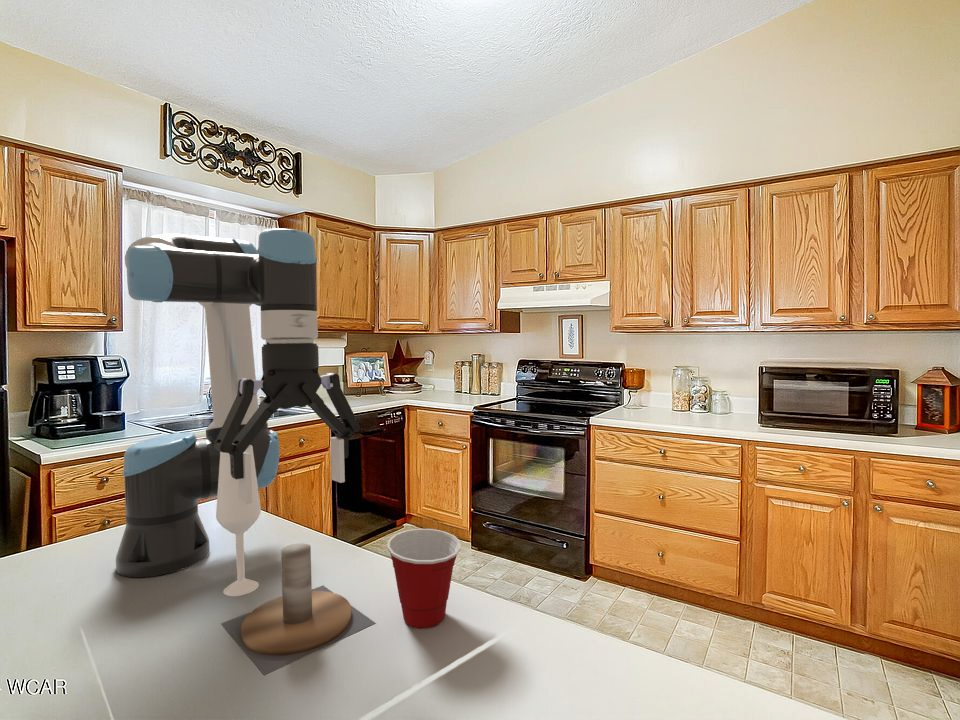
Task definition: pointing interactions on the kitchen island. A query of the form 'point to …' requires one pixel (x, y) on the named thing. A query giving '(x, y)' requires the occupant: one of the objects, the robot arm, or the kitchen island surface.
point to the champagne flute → (237, 518)
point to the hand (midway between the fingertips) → (294, 490)
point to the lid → (296, 611)
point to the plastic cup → (423, 573)
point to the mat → (275, 662)
